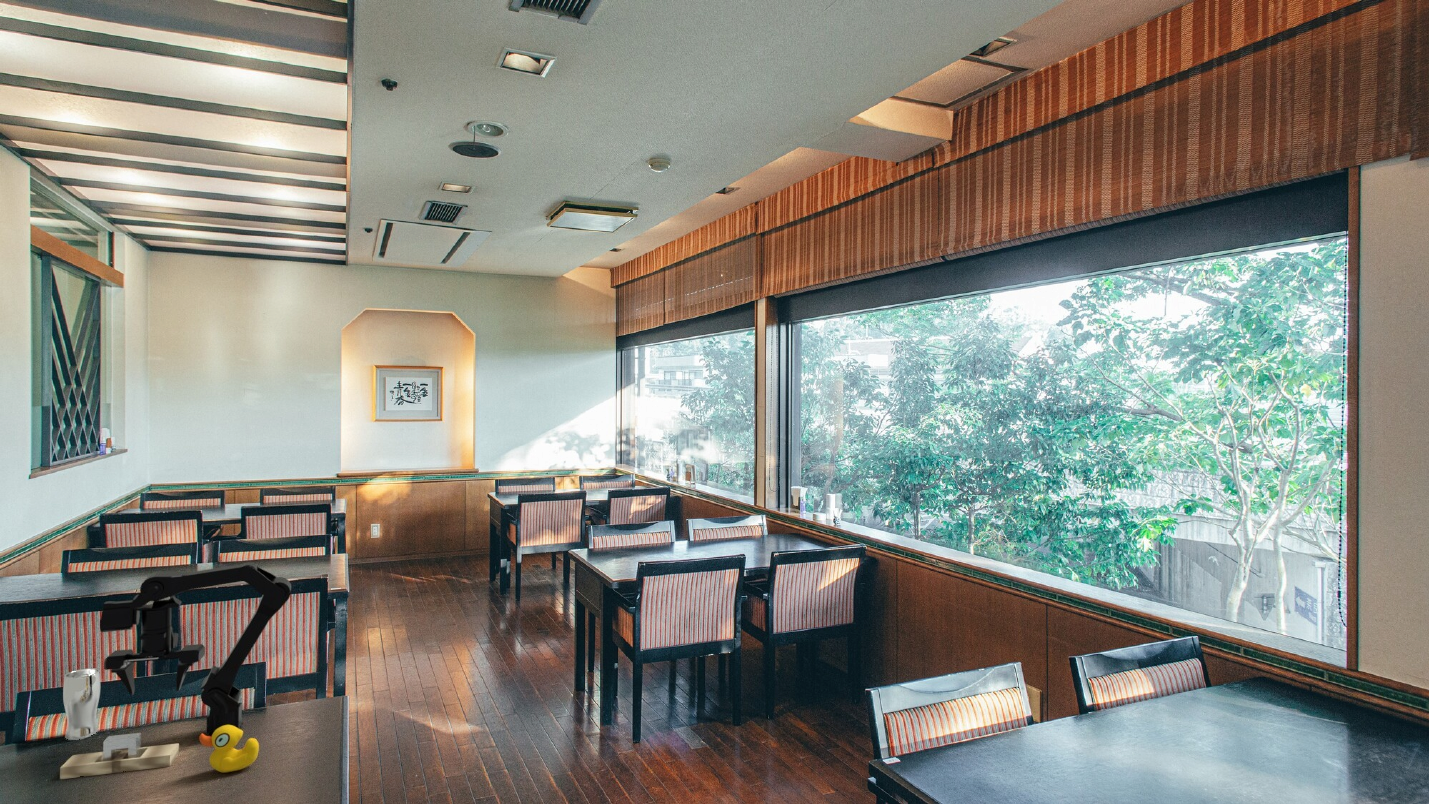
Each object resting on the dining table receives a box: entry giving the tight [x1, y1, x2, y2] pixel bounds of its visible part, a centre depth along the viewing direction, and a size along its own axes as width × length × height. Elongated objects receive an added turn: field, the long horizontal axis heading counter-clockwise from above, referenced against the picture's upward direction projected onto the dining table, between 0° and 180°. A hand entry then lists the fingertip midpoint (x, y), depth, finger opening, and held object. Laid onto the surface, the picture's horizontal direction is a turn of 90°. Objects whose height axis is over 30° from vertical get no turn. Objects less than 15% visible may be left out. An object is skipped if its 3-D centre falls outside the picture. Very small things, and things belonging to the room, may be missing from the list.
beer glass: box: [62, 667, 101, 741], centre depth 186 cm, size 7×7×15 cm
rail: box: [59, 742, 180, 780], centre depth 171 cm, size 20×6×2 cm, turn 109°
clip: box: [102, 732, 142, 762], centre depth 171 cm, size 6×3×6 cm, turn 110°
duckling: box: [198, 725, 260, 774], centre depth 170 cm, size 11×5×10 cm, turn 111°
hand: (155, 692), depth 183 cm, fingers open, 9 cm apart
